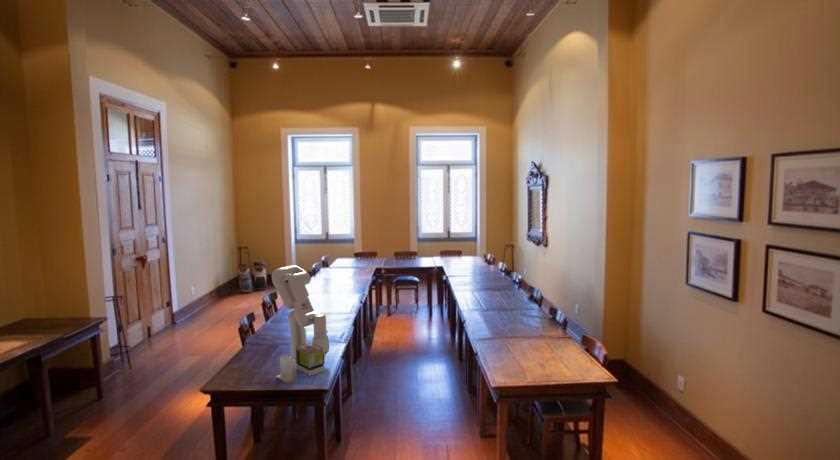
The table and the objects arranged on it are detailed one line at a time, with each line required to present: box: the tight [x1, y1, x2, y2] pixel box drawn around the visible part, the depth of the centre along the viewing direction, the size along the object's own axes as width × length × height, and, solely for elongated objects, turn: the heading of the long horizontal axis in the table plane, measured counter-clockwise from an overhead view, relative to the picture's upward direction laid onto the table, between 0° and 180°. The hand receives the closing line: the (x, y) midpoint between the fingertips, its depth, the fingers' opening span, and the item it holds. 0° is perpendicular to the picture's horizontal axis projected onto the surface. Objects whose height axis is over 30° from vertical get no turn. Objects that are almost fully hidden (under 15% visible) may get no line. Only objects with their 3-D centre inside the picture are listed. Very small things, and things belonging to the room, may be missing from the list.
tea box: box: [296, 341, 325, 377], centre depth 273 cm, size 15×10×15 cm
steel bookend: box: [275, 354, 298, 385], centre depth 261 cm, size 12×6×12 cm, turn 48°
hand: (321, 363), depth 280 cm, fingers closed
